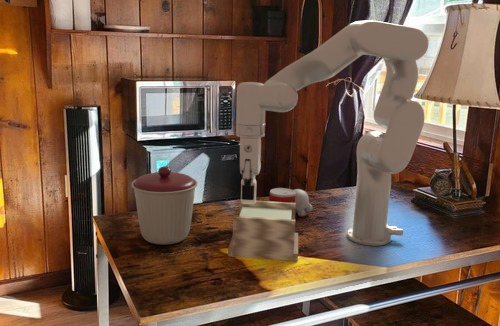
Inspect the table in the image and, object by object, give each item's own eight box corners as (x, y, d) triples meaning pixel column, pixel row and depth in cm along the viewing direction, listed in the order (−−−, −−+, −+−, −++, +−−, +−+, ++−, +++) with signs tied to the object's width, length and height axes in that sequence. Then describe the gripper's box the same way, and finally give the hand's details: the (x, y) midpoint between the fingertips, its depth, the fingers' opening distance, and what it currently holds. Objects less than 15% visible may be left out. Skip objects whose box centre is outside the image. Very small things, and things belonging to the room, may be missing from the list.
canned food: (292, 230, 149) (294, 196, 147) (266, 228, 151) (267, 193, 148) (295, 222, 157) (297, 189, 154) (270, 219, 158) (271, 186, 155)
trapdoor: (291, 216, 140) (291, 209, 140) (290, 231, 128) (291, 224, 128) (242, 213, 141) (242, 206, 141) (237, 228, 130) (237, 221, 129)
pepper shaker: (255, 200, 136) (256, 166, 134) (256, 204, 132) (257, 170, 130) (240, 200, 136) (241, 166, 134) (241, 204, 132) (241, 170, 130)
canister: (129, 229, 146) (127, 160, 141) (189, 224, 152) (189, 157, 147) (137, 254, 130) (135, 177, 125) (204, 246, 136) (205, 173, 131)
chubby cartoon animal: (276, 221, 164) (268, 199, 161) (304, 204, 169) (297, 182, 165) (287, 228, 158) (280, 206, 155) (316, 210, 162) (309, 188, 159)
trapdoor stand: (297, 239, 143) (299, 203, 140) (297, 261, 129) (299, 221, 126) (234, 235, 145) (235, 199, 142) (227, 256, 130) (228, 217, 128)
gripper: (262, 136, 121) (260, 207, 125) (266, 125, 137) (264, 188, 141) (231, 135, 121) (230, 205, 126) (239, 124, 138) (238, 187, 142)
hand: (248, 195), depth 134 cm, fingers closed on pepper shaker, 4 cm apart
